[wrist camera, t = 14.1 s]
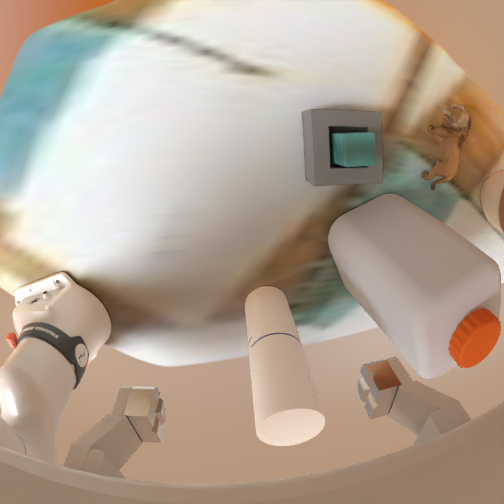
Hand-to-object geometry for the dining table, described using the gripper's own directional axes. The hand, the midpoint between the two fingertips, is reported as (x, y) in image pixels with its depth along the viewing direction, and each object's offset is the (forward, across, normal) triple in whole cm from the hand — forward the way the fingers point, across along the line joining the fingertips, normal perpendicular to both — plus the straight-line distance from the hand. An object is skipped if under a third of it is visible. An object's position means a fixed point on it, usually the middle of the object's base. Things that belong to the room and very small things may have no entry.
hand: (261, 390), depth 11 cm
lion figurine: (+35, -33, -8) cm, 49 cm away
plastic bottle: (+35, -22, +9) cm, 42 cm away
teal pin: (+34, -15, -7) cm, 38 cm away
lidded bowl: (+35, -50, +1) cm, 61 cm away
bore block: (+35, -15, -7) cm, 39 cm away
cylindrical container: (+35, -3, +18) cm, 40 cm away
